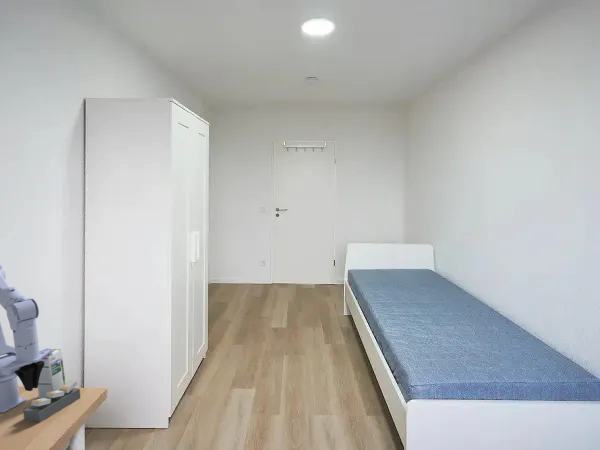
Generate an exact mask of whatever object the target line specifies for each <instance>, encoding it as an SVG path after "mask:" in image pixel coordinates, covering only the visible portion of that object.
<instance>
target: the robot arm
mask: <svg viewBox="0 0 600 450" xmlns="http://www.w3.org/2000/svg"><path fill="white" fill-rule="evenodd" d="M0 306H1V307H2V308H3V309H4V310H5V312H6V317H7V320H8V323H9V327H10V330H12V334H13V335H12V336H13V343H14V346H12V345H9V344H7V342H6V338H5V334H4V330H3V327H2V322H0V413H6V412H8V411H9V410H11V409H13V408H15V407H17V406H19V405H20V404H23V403H25V402H26V401H28V399H27V398H22V397H20V391H19V383H18V378H19V380H20V382H21V383H22V385H23V388H24V389H25V391H27V392H32V391H34V389H38V382H39V377H40V374H41V371H42V368H43V367H44V361H41V359H43V358H45V357H47V356H51V355H53V354H52V349H53V348H49V347H48V348H44V349H41V350H40V347H39V339H38V338H39V337H38V328H37V320H36V319H38V317H39V314H40V313H39V312H40V309H39V305H38V303H37V302H36V300H35V299H34V298H28V297H27V298H26V296H25V295H24V294H23V293H22V292H21V291H20V290H19V289H18V288H16V287H14V286H10V285H9V284H8V282H7V281H6V270H5V268H4V267H3V266H2V265H1V264H0Z"/></svg>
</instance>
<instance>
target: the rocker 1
mask: <svg viewBox="0 0 600 450" xmlns="http://www.w3.org/2000/svg"><path fill="white" fill-rule="evenodd" d="M50 401H51V399H47V398H42V399H40V398H39V399H34V400H31V403H30V404H31V405H30V406H32V405H33V406H42V405H46V404H49V403H50Z"/></svg>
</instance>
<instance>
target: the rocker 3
mask: <svg viewBox="0 0 600 450" xmlns="http://www.w3.org/2000/svg"><path fill="white" fill-rule="evenodd" d="M76 386H78V383H77V381H76V380H68V381H67V382H65V385H64V386H63V387H61V388H60V391H64V393H69V392H70V391H71V390H72V389H73V388H75V387H76Z"/></svg>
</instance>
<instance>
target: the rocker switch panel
mask: <svg viewBox="0 0 600 450" xmlns="http://www.w3.org/2000/svg"><path fill="white" fill-rule="evenodd" d="M59 391H60V390H59ZM46 398H47V399H51V401H50V403H49V404H46V405H42V406H33V405H30V406H28V407H26V408H25V409H23V410H22V412H23V421H29V422H33V423H34V422H35V423H42V422H43V421H45V420H47V419H48V418H50V417H52V416H53V415H55V414H56V413H58V412H60V411H61V410H63V409H65V408H66V407H68V406H69V405H71V404H73V403H75V402H76V401H78V400H80V399H81V390H80V388H75V387H74V388H73V389H72V390H71V391H70V392H69V393H64V396H60V397H56V398H49V397H46Z"/></svg>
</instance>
